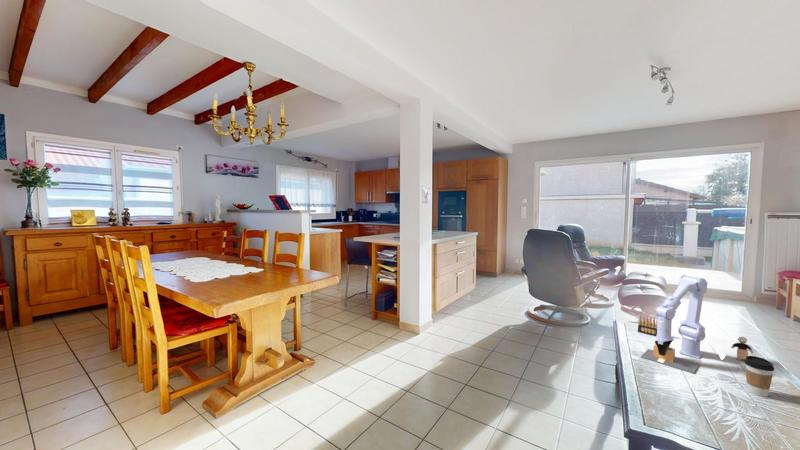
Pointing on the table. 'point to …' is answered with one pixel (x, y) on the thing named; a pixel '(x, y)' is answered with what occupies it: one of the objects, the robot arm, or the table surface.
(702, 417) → the table surface
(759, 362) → the coffee cup
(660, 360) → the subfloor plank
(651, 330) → the ammunition clip
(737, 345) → the grandmother figurine
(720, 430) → the table surface
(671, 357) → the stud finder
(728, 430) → the table surface
